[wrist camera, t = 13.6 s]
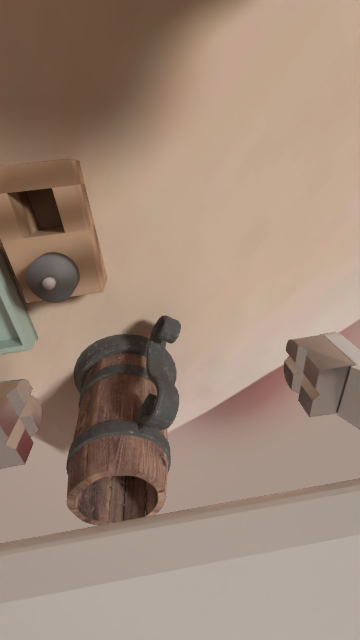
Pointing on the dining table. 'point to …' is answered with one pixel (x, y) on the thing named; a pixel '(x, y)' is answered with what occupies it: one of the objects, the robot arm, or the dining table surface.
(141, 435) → the tankard
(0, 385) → the robot arm
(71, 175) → the block
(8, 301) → the tray
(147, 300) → the dining table surface
